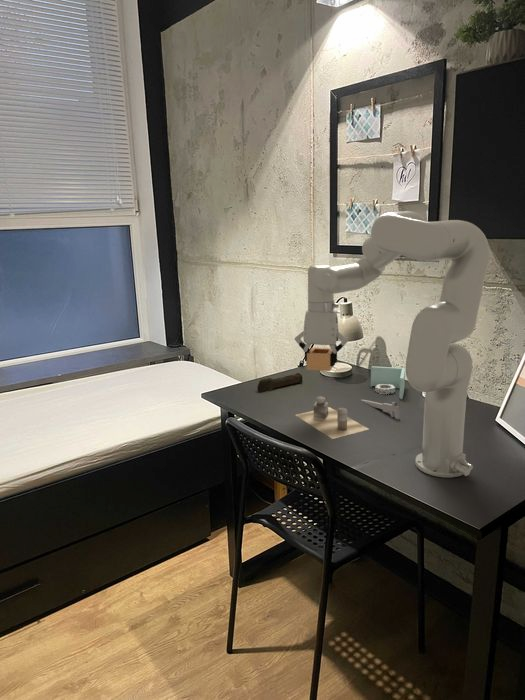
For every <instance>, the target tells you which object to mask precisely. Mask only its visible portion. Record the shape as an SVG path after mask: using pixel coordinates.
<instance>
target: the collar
mask: <svg viewBox="0 0 525 700" xmlns="http://www.w3.org/2000/svg"><path fill="white" fill-rule="evenodd" d="M331 354H332V350H331V348H330V347H329V348H326V347H310V351H309V352H308V353H307V364H306V370H307V371H308V370H309V371H310V370H311V371H322V372H331V370H332V369H333V367H334V366H331Z"/></svg>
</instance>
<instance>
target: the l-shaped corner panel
mask: <svg viewBox="0 0 525 700" xmlns="http://www.w3.org/2000/svg"><path fill="white" fill-rule="evenodd" d="M405 379H406V367H393V366H391V367H390V366H375V365H373V366H370V387H372V386H375V387H374V388H375V389H374V392H375V391H376V393H377V394H378V393H379V394H378V395H385V394H386V396H387V394H388V395H389V394H390V393H391V394H395V393H394V392H396V389H399V398H400V399H399V400H403V398H404V394H405V393H404V392H405V384H406V383H405ZM391 394H390V395H391Z"/></svg>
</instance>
